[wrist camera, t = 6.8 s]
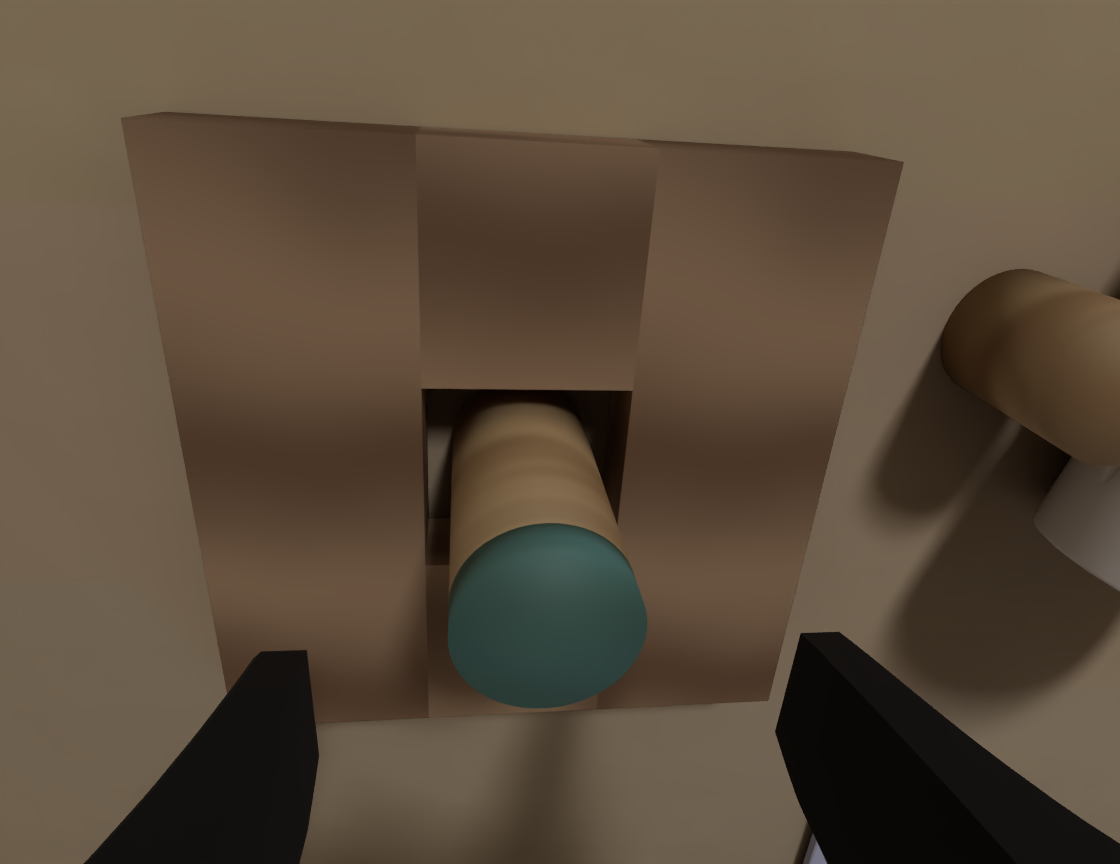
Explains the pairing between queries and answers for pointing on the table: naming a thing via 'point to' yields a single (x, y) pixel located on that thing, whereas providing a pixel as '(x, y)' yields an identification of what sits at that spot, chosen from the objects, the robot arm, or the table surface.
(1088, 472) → the white cup
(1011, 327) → the short dowel
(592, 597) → the long dowel
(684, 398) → the wooden board with hole
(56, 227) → the table surface
